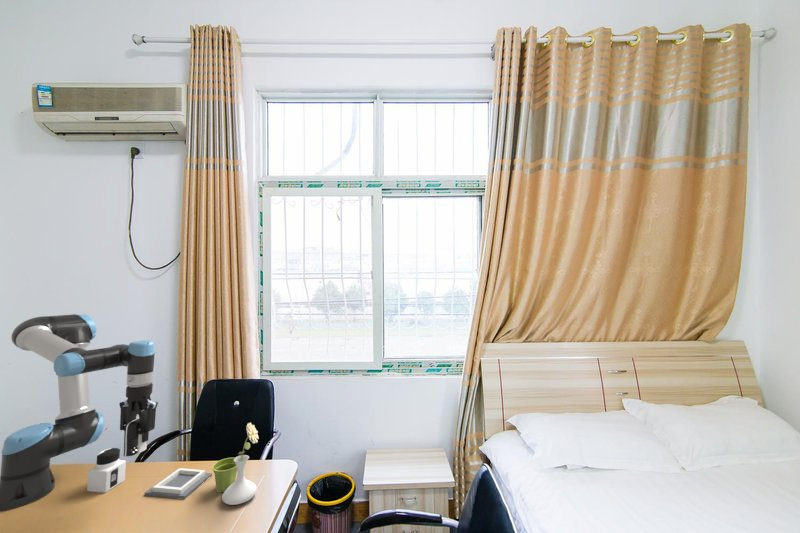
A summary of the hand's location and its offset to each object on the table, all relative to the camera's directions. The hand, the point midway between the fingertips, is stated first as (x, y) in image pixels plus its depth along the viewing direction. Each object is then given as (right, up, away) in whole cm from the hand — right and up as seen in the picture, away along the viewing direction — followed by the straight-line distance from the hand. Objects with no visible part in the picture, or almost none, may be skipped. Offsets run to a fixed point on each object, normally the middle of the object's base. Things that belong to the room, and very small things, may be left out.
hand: (136, 450), depth 115 cm
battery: (0, -1, 0) cm, 1 cm away
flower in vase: (+37, -18, +1) cm, 41 cm away
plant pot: (+29, -18, +6) cm, 35 cm away
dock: (+11, -18, +7) cm, 22 cm away
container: (-17, -17, +6) cm, 25 cm away
